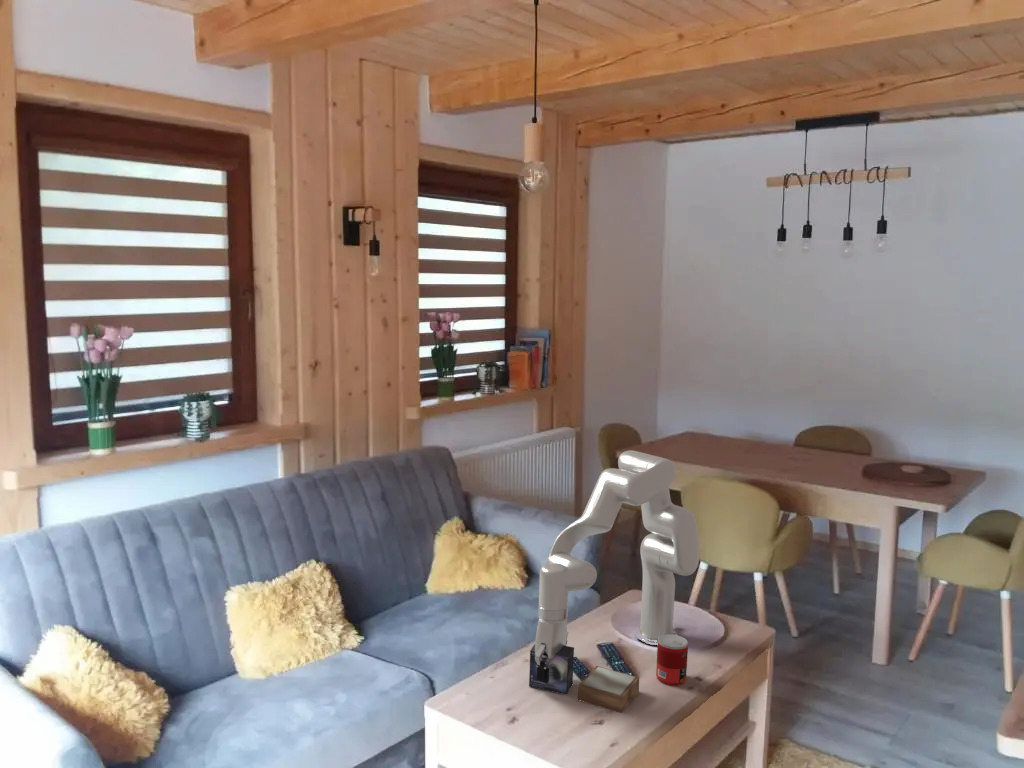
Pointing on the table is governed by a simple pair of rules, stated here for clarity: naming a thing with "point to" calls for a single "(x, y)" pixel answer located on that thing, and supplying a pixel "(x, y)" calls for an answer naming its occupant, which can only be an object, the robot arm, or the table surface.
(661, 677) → the canned food
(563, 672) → the small box
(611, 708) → the wooden box
